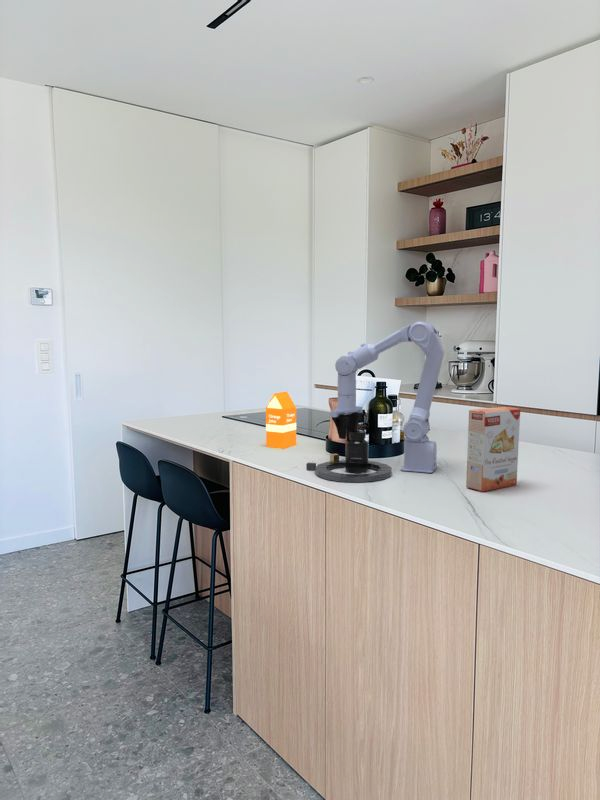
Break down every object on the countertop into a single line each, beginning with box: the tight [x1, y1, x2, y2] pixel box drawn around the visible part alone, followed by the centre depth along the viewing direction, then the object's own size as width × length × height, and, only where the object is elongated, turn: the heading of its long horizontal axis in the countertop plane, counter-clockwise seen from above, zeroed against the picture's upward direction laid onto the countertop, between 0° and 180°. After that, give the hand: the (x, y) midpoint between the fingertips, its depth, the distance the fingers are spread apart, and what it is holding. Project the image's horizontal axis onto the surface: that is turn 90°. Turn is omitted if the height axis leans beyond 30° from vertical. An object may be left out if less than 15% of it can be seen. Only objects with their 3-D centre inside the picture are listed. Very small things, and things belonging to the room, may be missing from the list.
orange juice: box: [265, 391, 297, 450], centre depth 214 cm, size 8×9×20 cm
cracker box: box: [465, 406, 521, 492], centre depth 154 cm, size 14×6×21 cm, turn 123°
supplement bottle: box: [344, 429, 370, 474], centre depth 173 cm, size 7×7×12 cm
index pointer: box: [305, 461, 317, 472], centre depth 176 cm, size 2×2×2 cm
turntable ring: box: [314, 453, 393, 483], centre depth 171 cm, size 22×22×4 cm
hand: (346, 437), depth 183 cm, fingers open, 4 cm apart
